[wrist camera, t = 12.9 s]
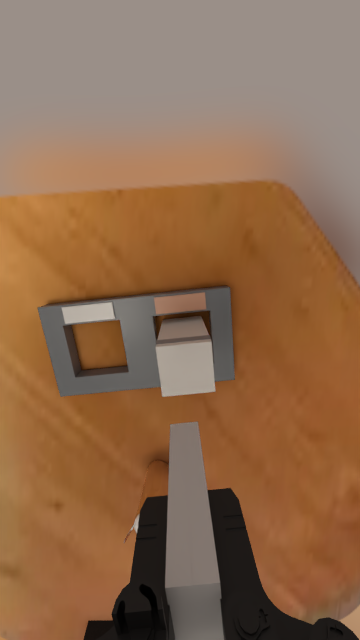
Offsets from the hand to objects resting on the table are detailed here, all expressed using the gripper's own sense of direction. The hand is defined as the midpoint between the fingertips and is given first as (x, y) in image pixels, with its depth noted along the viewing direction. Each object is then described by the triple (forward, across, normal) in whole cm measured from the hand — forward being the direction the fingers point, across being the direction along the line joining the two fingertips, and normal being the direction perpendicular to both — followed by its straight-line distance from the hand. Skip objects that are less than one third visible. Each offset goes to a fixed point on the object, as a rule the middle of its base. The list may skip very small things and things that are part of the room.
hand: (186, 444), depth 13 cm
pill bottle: (+19, -6, -21) cm, 29 cm away
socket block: (+19, -5, 0) cm, 19 cm away
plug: (+19, 0, 0) cm, 19 cm away
